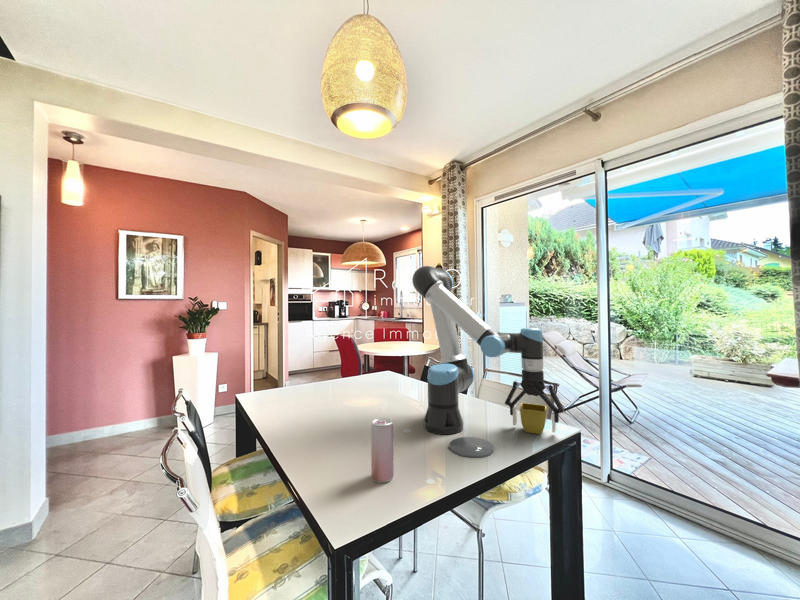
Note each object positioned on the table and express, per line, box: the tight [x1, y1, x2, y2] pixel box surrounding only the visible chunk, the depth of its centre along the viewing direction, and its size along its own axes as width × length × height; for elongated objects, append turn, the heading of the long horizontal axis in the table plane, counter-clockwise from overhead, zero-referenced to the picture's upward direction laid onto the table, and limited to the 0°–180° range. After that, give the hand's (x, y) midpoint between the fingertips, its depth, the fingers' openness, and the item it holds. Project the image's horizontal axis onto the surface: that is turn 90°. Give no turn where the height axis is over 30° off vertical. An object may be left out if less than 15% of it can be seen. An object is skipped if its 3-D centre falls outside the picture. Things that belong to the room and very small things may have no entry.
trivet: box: [449, 436, 495, 459], centre depth 105 cm, size 14×14×1 cm
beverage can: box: [370, 417, 395, 484], centre depth 87 cm, size 6×6×15 cm
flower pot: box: [519, 402, 547, 435], centre depth 119 cm, size 9×9×9 cm
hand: (533, 427), depth 119 cm, fingers open, 13 cm apart
